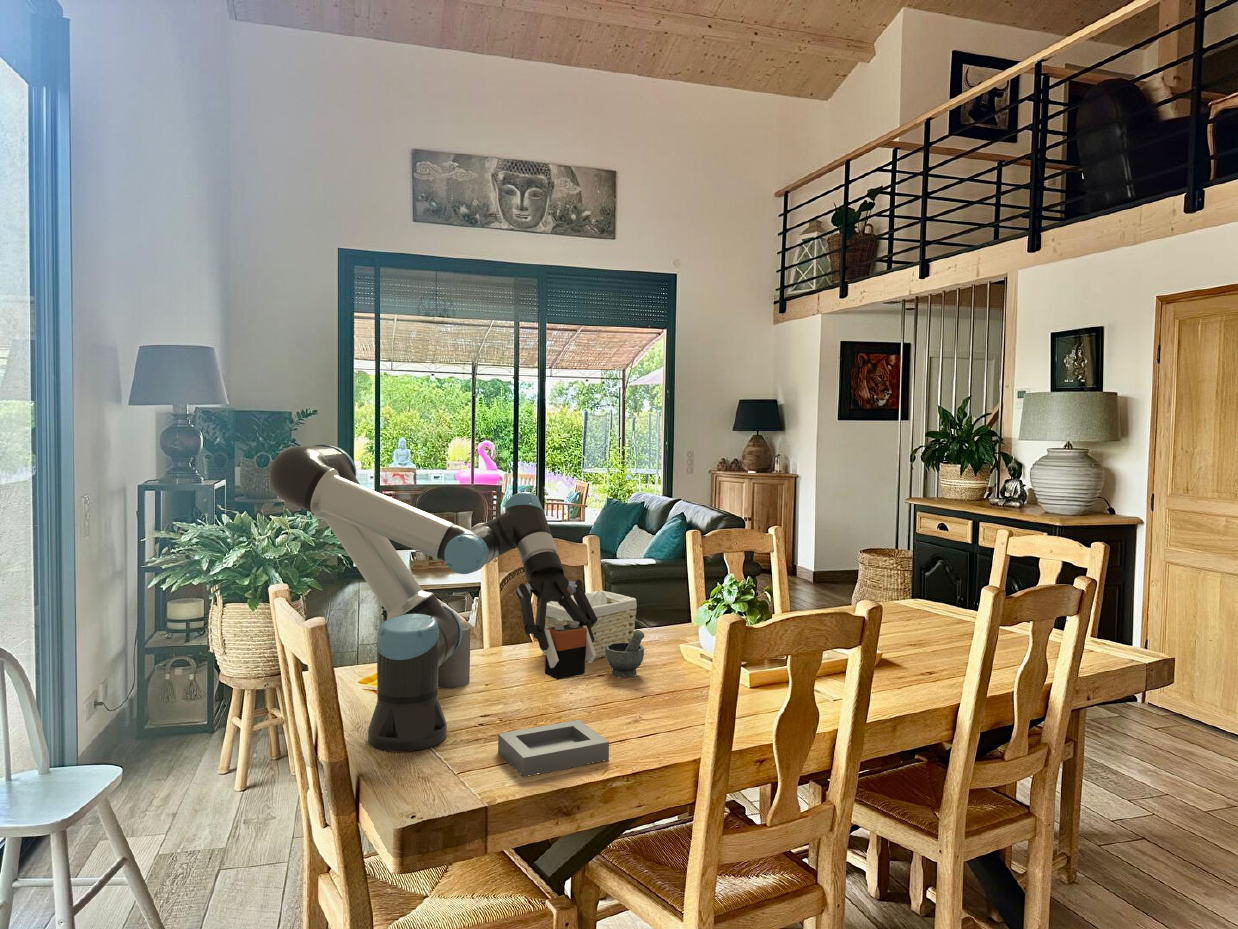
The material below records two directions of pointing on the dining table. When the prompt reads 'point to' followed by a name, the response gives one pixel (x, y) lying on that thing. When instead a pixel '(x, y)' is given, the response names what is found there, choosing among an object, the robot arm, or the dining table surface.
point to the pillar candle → (457, 664)
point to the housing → (552, 747)
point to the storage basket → (601, 618)
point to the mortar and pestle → (625, 656)
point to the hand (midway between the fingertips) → (573, 661)
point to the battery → (568, 650)
